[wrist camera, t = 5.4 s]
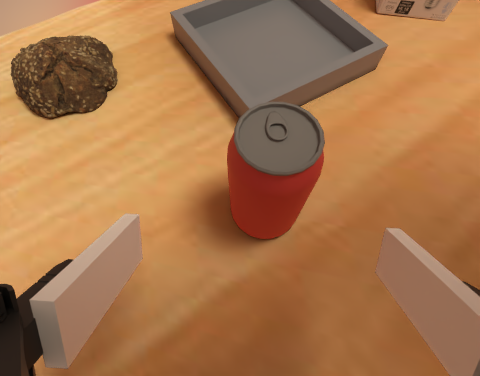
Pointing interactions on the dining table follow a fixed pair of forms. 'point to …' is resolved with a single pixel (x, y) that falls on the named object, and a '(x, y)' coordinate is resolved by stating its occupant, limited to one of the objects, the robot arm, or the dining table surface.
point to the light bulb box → (417, 8)
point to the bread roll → (64, 75)
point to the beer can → (273, 167)
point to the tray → (275, 48)
